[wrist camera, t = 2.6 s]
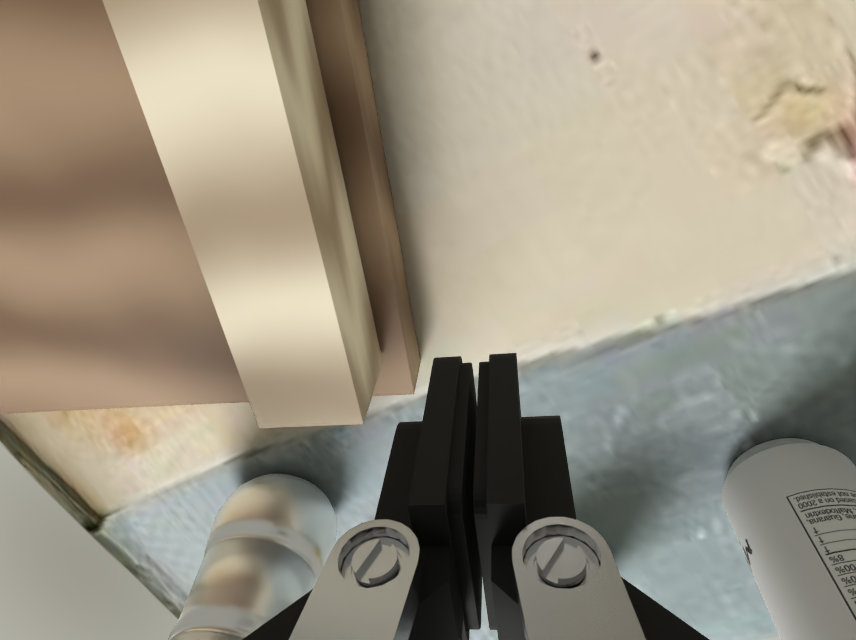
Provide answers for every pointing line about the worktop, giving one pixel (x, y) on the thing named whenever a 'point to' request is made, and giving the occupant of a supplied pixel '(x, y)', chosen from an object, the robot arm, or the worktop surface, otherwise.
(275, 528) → the plastic bottle
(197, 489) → the worktop surface
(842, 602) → the energy drink can
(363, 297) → the folding leg
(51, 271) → the stool seat
